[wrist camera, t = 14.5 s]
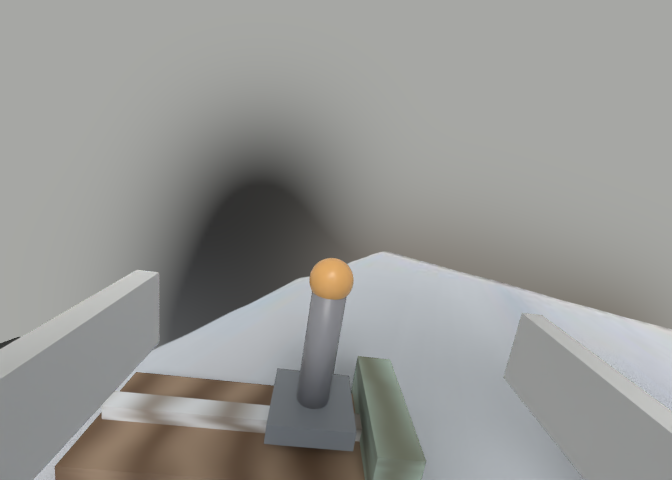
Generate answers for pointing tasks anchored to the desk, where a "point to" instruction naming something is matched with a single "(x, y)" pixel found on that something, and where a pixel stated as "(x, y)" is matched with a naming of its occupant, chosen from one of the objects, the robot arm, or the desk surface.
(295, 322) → the desk surface
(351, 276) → the lever
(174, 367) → the desk surface
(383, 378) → the track bed
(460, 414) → the desk surface
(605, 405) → the robot arm
